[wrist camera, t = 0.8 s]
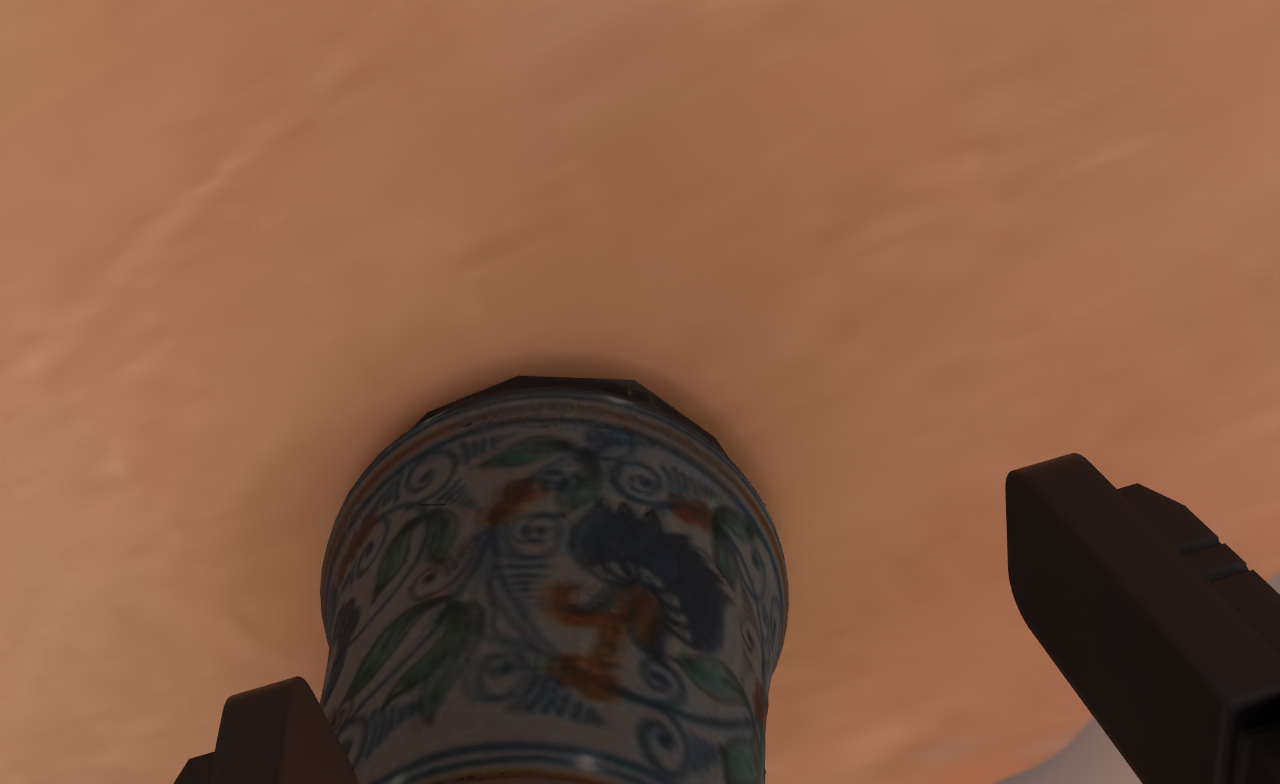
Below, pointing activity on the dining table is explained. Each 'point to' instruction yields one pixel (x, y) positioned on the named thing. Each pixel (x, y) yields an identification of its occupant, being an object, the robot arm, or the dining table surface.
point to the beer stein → (553, 597)
